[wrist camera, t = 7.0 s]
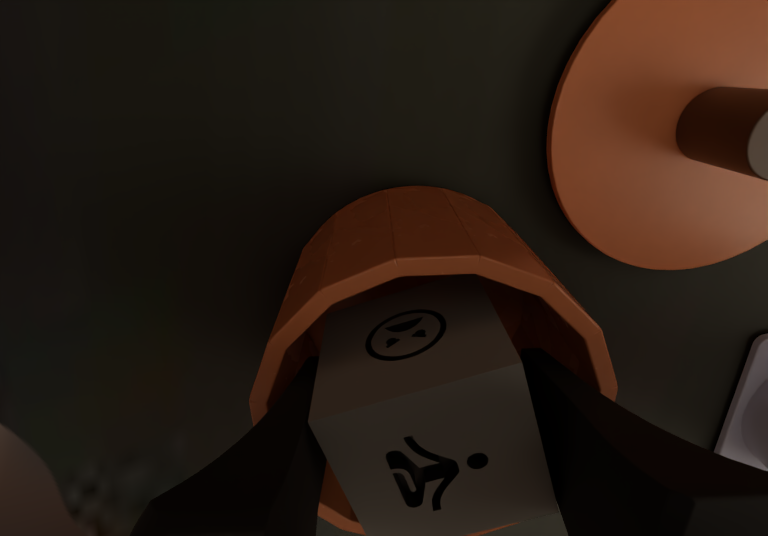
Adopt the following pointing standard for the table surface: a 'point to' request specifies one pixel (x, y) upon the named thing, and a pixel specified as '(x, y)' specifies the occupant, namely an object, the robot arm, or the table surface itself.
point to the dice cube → (429, 414)
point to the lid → (665, 132)
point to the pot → (414, 268)
